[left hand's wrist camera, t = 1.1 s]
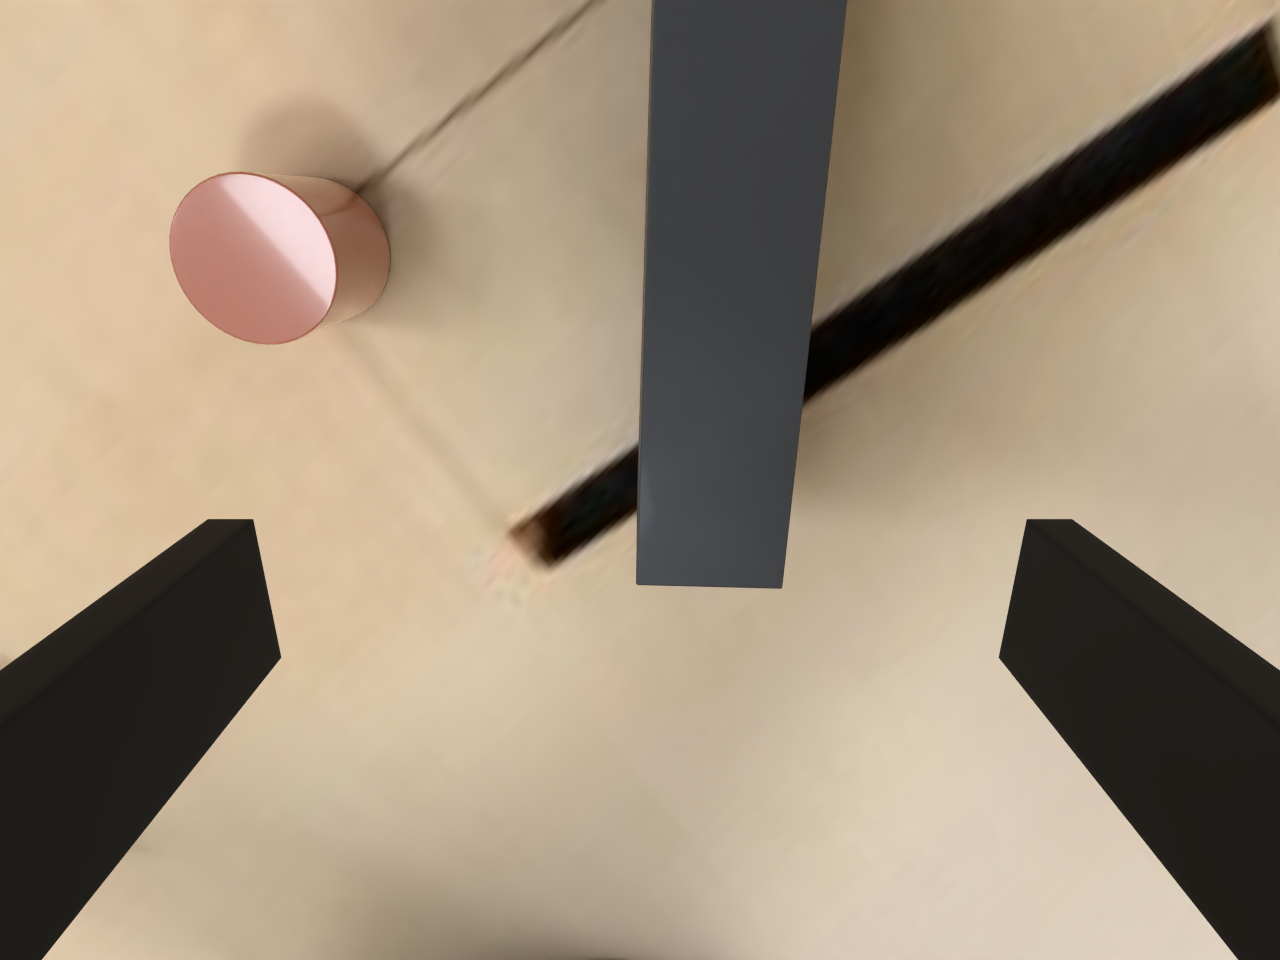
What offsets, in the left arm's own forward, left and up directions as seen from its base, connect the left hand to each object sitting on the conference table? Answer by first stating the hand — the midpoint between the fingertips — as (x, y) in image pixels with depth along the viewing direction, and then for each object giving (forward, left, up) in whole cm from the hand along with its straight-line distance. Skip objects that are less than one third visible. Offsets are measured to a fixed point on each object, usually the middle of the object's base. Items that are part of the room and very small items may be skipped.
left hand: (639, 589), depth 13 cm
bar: (+7, -2, -17) cm, 18 cm away
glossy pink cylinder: (+4, +12, -17) cm, 21 cm away
